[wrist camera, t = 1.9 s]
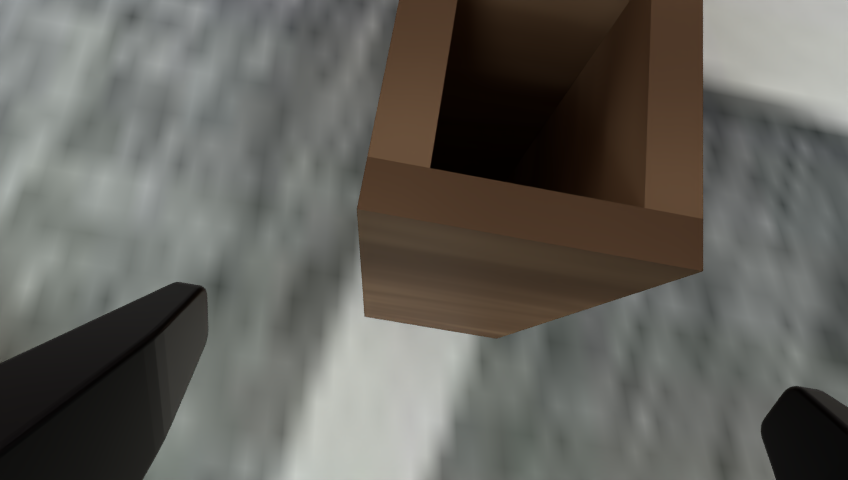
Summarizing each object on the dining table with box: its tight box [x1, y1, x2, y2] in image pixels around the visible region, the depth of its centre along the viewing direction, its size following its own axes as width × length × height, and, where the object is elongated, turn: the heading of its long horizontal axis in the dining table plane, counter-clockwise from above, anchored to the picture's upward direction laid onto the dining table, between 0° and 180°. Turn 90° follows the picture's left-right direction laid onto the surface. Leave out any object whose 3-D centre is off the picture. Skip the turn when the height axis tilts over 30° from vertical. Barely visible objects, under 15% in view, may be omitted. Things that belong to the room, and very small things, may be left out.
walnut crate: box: [357, 0, 703, 339], centre depth 14 cm, size 6×5×12 cm
